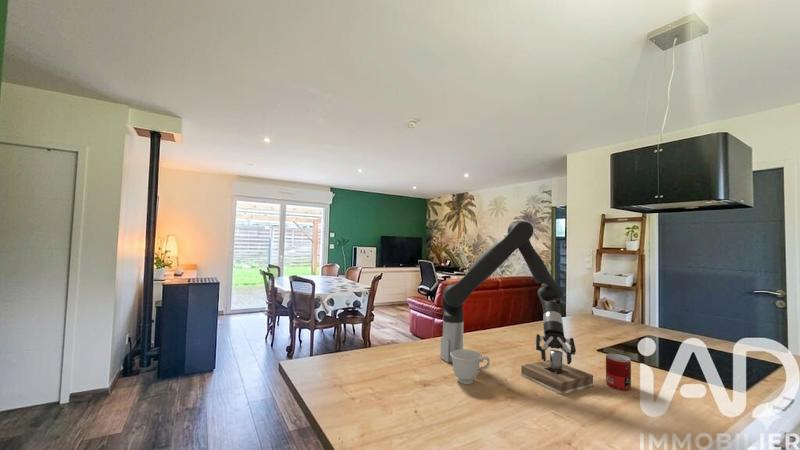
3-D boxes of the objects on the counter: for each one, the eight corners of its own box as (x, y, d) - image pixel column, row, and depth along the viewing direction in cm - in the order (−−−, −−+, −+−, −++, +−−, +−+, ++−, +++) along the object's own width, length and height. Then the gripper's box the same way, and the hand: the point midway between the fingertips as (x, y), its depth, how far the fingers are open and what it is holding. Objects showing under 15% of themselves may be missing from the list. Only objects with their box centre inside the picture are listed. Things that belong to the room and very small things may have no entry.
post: (556, 380, 126) (557, 354, 127) (547, 376, 130) (547, 350, 131) (564, 379, 128) (565, 352, 129) (554, 374, 132) (555, 349, 133)
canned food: (630, 392, 120) (630, 362, 121) (604, 386, 125) (604, 356, 126) (631, 385, 126) (631, 356, 127) (606, 380, 131) (606, 351, 132)
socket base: (560, 394, 117) (560, 383, 117) (521, 375, 133) (521, 365, 133) (593, 386, 125) (593, 375, 125) (552, 368, 141) (552, 359, 141)
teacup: (490, 390, 119) (491, 362, 120) (448, 385, 122) (449, 358, 123) (488, 377, 131) (488, 351, 131) (450, 373, 134) (450, 348, 134)
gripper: (535, 318, 140) (537, 354, 128) (573, 321, 135) (578, 359, 124) (534, 328, 144) (536, 363, 133) (570, 331, 140) (575, 369, 128)
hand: (556, 361), depth 128 cm, fingers open, 8 cm apart
